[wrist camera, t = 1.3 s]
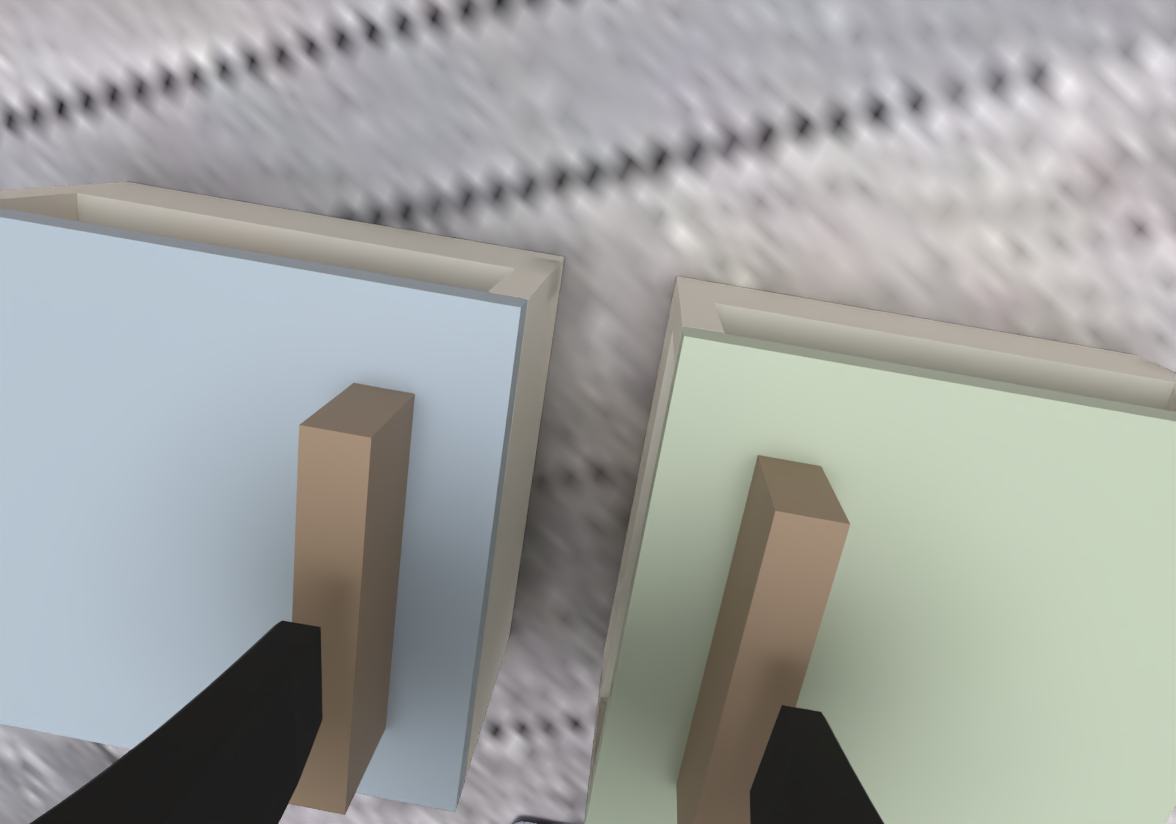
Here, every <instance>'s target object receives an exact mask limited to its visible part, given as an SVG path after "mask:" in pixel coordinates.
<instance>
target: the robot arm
mask: <svg viewBox="0 0 1176 824" xmlns="http://www.w3.org/2000/svg"><path fill="white" fill-rule="evenodd" d="M322 719H323V712H322V663H321V627H318V626H312V625H306V624H300V623H294V622H288V621H283V620H282V621H280V622H279V623H277V624H276V625H274V626H273V627H272V628H271V629H270V630H269V631H268V632H267V633H266V634H265V635H264V636H263V637H262V638H260V639H259V640H258V641H257V642H256V643H255V644H254V645H253V646H252V647H251V648H250V649H249V650H248V651H246V652H245V653H244V654H243V655H242V656H241V657H240V658H239V659H238V660H237V661H236V662H234V663H233V664H232V665H231V666H230V667H229V668H228V669H227V670H226V671H224V672H223V673H222V674H221V675H220V676H219V677H218V678H217V679H215V680H214V681H213V682H212V683H211V684H210V685H209V686H208V687H206V688H205V689H204V690H203V691H202V692H201V693H199V694H198V695H197V696H196V697H195V698H194V699H192V700H191V701H190V702H189V703H188V704H187V705H185V706H184V707H183V708H182V709H181V710H179V711H178V712H177V713H176V714H175V715H174V716H172V717H171V718H170V719H169V720H168V721H167V722H165V723H164V724H163V725H162V726H160V727H159V728H158V729H157V730H156V731H154V732H153V733H152V734H151V735H149V736H148V737H147V738H145V739H144V740H143V741H142V742H140V743H139V744H138V745H137V746H135V747H134V748H133V749H131V750H130V751H129V752H128V753H126V754H125V755H124V756H122V757H121V758H120V759H119V760H117V761H116V762H115V763H113V764H112V765H111V766H110V767H108V768H107V769H106V770H105V771H103V772H102V773H101V774H99V775H98V776H97V777H95V778H94V779H92V780H91V781H90V782H88V783H87V784H86V785H84V786H83V787H81V788H80V789H79V790H77V791H76V792H75V793H73V794H72V795H70V796H69V797H68V798H66V799H65V800H63V801H62V802H61V803H59V804H58V805H56V806H55V807H53V808H52V809H50V810H49V811H47V812H46V813H45V814H43V815H42V816H40V817H39V818H37V819H36V820H34V821H33V822H31V823H30V824H278V823H279V821H280V819H281V817H282V815H283V813H284V811H285V809H286V807H287V805H288V803H289V801H290V799H291V797H292V795H293V793H294V791H295V789H296V787H297V785H298V783H299V780H300V778H301V775H302V772H303V770H304V767H305V765H306V762H307V760H308V757H309V755H310V752H311V749H312V746H313V744H314V741H315V738H316V736H317V733H318V730H319V727H320V725H321V722H322ZM515 824H536V823H531V822H523V821H520V822H517V823H515ZM750 824H884V822H883V820H882V819H881V817H880V815H879V814H878V812H877V810H876V808H875V807H874V805H873V803H872V802H871V800H870V798H869V796H868V795H867V793H866V791H865V789H864V787H863V786H862V784H861V782H860V780H859V779H858V777H857V775H856V773H855V771H854V770H853V768H852V766H851V764H850V762H849V761H848V759H847V757H846V755H845V753H844V751H843V750H842V748H841V746H840V744H839V742H838V740H837V738H836V737H835V735H834V733H833V731H832V729H831V727H830V725H829V723H828V722H827V720H826V718H825V717H824V715H823V714H822V712H820V711H814V710H808V709H802V708H796V707H790V706H784V705H782V706H781V709H780V711H779V714H778V717H777V719H776V722H775V725H774V727H773V730H772V733H771V735H770V738H769V741H768V744H767V746H766V749H765V752H764V754H763V757H762V760H761V762H760V765H759V768H758V771H757V773H756V776H755V779H754V781H753V784H752V787H751V789H750Z"/></svg>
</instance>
